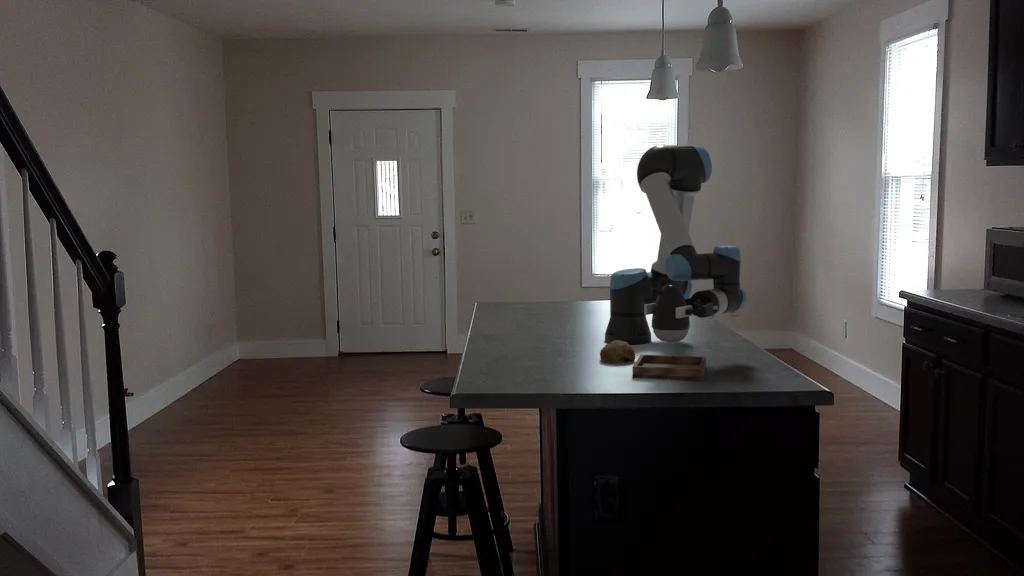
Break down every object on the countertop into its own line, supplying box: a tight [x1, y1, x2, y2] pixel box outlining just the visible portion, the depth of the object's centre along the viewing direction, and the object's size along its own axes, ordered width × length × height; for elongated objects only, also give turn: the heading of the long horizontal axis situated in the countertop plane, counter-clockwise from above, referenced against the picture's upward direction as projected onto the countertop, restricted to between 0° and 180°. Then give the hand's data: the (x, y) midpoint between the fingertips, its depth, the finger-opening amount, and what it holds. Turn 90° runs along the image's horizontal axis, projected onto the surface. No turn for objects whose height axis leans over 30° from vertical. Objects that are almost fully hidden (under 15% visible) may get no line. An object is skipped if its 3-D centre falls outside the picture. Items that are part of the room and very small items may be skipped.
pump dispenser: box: [651, 284, 691, 343], centre depth 237 cm, size 10×10×15 cm
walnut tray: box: [632, 353, 707, 382], centre depth 239 cm, size 18×18×3 cm
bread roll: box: [599, 340, 636, 365], centre depth 256 cm, size 10×10×8 cm
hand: (661, 311), depth 234 cm, fingers closed on pump dispenser, 9 cm apart
